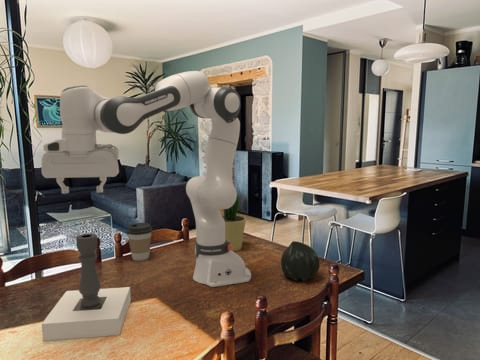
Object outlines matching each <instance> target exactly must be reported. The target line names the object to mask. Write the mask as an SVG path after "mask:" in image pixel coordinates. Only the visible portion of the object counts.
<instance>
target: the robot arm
mask: <svg viewBox="0 0 480 360" xmlns="http://www.w3.org/2000/svg"><path fill="white" fill-rule="evenodd" d="M241 103H242V102H241V97H240V94H239V93H238V91H237V90H236V89H233V88H231V87H227V86H223V87H219V86H218V87H216V86H215V87H211V85H210V81H209V79H208V77H207V75H205V73H204V72H202V71H201V70H200V71H199V70H191V71H183V72H179V73H175V74H172V75H170V76H167V77H165V78H163V79H161V80H160V81H158V82H157V83H156V85H155V89H154V90H153V91H152V92H149V93H146V94H143V95H141V96H137V97H130V96H115V97H112V98H109V97H107V96H104V95H101V94H100V93H98V92H97V91H95V90H94V89H93V88H91V86H89V85H75V86H70V87H66V88H65V89H62V91H61V93H60V96H59V115H60V116H59V117H60V120H61V124H62V129H61V138H60V139H55V140H53V141H51V142H47V143H45V144H44V145H43V151H44V154H43V155H42V157H41V166H40V167H41V175H42V176H43V178H45V179H55V180H56V183H57V185H59V186H58V187H60V189H61V194H64V195H65V194H69V193H70V186H66V185H65V183H64V181H65V179H67V178H69V179H70V178H71V179H73V178H99V181H101V182H100V183H99V185H97V186H96V187H95V188H96V193H98V194H99V193H104V186H105V184H106V182H107V178H111V177H112V178H114V177H117V175H118V174H119V173H120V168H119V162H118V159H119V149H118V148H117V147H116V146H115V145H113V144H104V143H103V144H97V131H100V132H103V133H111V134H112V133H115V134H119V135H125V134H130V133H131V132H133V131H135V130H136V129H137V128H138V127H139V126H140V125H141V124H142V123H143V122H144V121H145V120H146V119H148V118H151V117H153V116H155V115H158V114H160V113H162V112H165V111H167V112H169V111H177V110H181V109H184V108H186V107H189V108H190V111H191V112H192V113H193V114H194V116H196V117H198V118H200V119H210V120H211V130H210V133H209V137H208V139H207V143H206V147H205V150H204V156H203V160H204V162H205V167H206V175H197V176H194V177H191V178H190V179H189V180H188V181H187V183H186V185H185V192H186V195H187V197H188V199H189V201H190V204H191V207H192V212H193V215H194V216H193V217H194V219H195V230H196V231H195V236H196V241H195V245H194V249H195V251H194V254H195V257H196V259H195V265H194V266H195V267H194V272H193V275H192V279H193V280H194V281H195V282H196V283H199V284H202V285H207V286H209V287H212V288H214V287H221V286H222V287H223V286H228V285H233V284H234V285H235V284H241V283H248V282H250V281H251V279H252V274H251V270H250V269H249V268H248V267H247V266H246V265H245V261H244V259H243V258H242V257H241V256H240V255H239V254H237V253H236V252H235V251H232V249H233V246H232V245H231V244H230V242H229V241H228V240H227V241H226V240H225V221H224V218H223V217H222V215H223V214H222V213H221V211H220V210H223V209H228V208H230V207H232V206H233V204H234V203H235V201H236V198H237V196H238V193H237V192H238V191H236V190H237V189H236V187H235V184H234V181H233V180H234V179H233V165H234V159H235V155H236V152H237V149H238V143H239V138H240V132H241V131H240V130H241V122H240V120H239V118H238V117H239V115H240V110H241V106H242V105H241Z"/></svg>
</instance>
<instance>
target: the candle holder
mask: <svg viewBox="0 0 480 360" xmlns="http://www.w3.org/2000/svg"><path fill="white" fill-rule="evenodd" d="M75 240H76V241H75V242H76V249H77V252H79V254H80V255H78V256H77V257H78V260H79V261H80V265H81V273H80V278H79V279H80V280H79V282H78V283H79V284H78V290H79V292H80V293H81V294H82V297H83V299H82V301H81V303H80V305H81V306H80V311H83V310H97V309H101V308H102V303H101V299H100V298H99V297H98V296H97V295H98V292H99V290H100V289H101V288H102V287H101V285H102V284H101V282H100V277H99V276H98V271H97V269H96V259H97V258H98V253H96V250H97V248H98V235H97V233H93V232H92V233H82V234H79V235H77V236H75Z"/></svg>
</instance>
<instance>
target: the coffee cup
mask: <svg viewBox="0 0 480 360" xmlns="http://www.w3.org/2000/svg"><path fill="white" fill-rule="evenodd" d="M127 227H128V228H127V229H126V231H125V232H126V234H127V238H128V244H129V250H130V255H131V258H132V260H133V261H135V262H143V261H146V260H148V259H149V258H150V252H151V239H152V232H153V230H154V229H153V227H152V226H151V223H147V222H136V223H135V222H134V223H131V224H129V225H128V226H127Z"/></svg>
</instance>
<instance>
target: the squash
mask: <svg viewBox="0 0 480 360" xmlns="http://www.w3.org/2000/svg"><path fill="white" fill-rule="evenodd" d="M280 261H281V262H280V264H281V269H282V273H283V275H285V276H286V277H287V278H289V279H292V280H294V281H296V282H297V281H300V280H301V281H302V282H306V281H307V280H309V279H312V278H315V276H316V274H317V273H318V272H319V269H320V259H319V257H318V254H317V253H316V251H315V250H314V249H313V247H311V246H310V245H309V244H305V243H303V242H301V241H295V240H293V241H292V242H291V243H289V245H288V246H287V248H286V249H285V250H284V252H283V253H282V256H281V259H280Z"/></svg>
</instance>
